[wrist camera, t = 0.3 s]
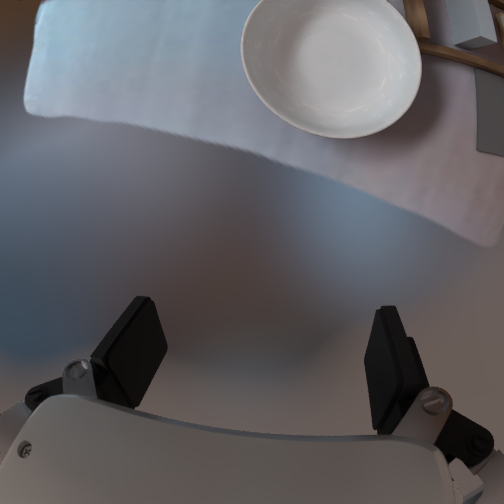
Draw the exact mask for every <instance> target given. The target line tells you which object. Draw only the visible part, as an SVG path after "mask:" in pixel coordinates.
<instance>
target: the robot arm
mask: <svg viewBox="0 0 504 504" xmlns="http://www.w3.org/2000/svg"><path fill="white" fill-rule="evenodd" d="M167 348H168V347H167V342H166V339H165V336H164V333H163V330H162V326H161V324H160V320H159V317H158V313H157V310H156V307H155V303H154V301H152V300H151V299H150V297H145V296H136V297H135V298H134V300H133V301H132V302H131V303H130V305H129V306H128V307H127V309H126V310H125V311H124V312H123V314H122V315H121V316H120V318H119V319H118V320H117V321H116V323H115V324H114V325H113V327H112V328H111V329H110V330H109V332H108V333H107V334H106V336H105V337H104V339H103V340H102V341H101V342H100V344H99V345H98V346H97V348H96V349H95V350H94V352H93V353H92V355H91V358H92V359H91V360H90V361H88V360H86V359H82V358H79V359H75V360H72V361H70V362H69V363H68V364H67V365H66V366H65V367H64V369H63V373H62V377H60V378H57V379H54V380H52V381H49V382H46V383H43V384H40V385H38V386H35V387H33V388H31V389H30V390H29V391H28V393H27V394H26V396H25V402H23V401H22V400H21V401H20V402H18V403H16V404H15V405H13V406H12V407H10V408H9V409H7V410H6V411H4V412H3V413H1V414H0V454H1V457H2V460H3V462H2V464H1V466H0V504H456V501H455V492H454V486H453V481H455V482H456V483H457V484H458V486H459V487H458V490H459V491H460V492H461V494H462V496H463V504H504V454H503V453H502V452H501V451H500V450H498V451H496V450H495V449H494V439H493V436H492V434H491V433H490V432H489V431H488V430H487V429H485V428H484V427H482V426H480V425H479V424H477V423H475V422H473V421H472V420H470V419H468V418H466V417H465V416H463V415H461V414H460V413H458V412H456V411H454V410H453V409H452V407H453V402H452V398H451V396H450V395H449V394H448V392H447V391H445V390H444V389H442V388H439V387H430V386H429V383H428V380H427V377H426V374H425V370H424V367H423V364H422V361H421V358H420V355H419V353H418V350H417V347H416V344H415V341H414V339H413V338H412V337H407V336H406V333H405V330H404V327H403V324H402V322H401V319H400V316H399V314H398V311H397V308H396V306H381V308H380V309H378V310H376V313H375V317H374V321H373V326H372V330H371V334H370V338H369V342H368V346H367V349H366V353H365V358H364V364H365V371H366V378H367V385H368V392H369V400H370V408H371V416H372V426H373V429H374V430H377V434H378V435H349V436H348V435H346V436H314V435H313V436H312V435H310V436H309V435H285V434H270V433H258V432H249V431H240V430H232V429H225V428H218V427H211V426H205V425H200V424H195V423H189V422H184V421H179V420H175V419H170V418H166V417H161V416H157V415H153V414H149V413H146V412H141V411H138V410H135V407H137V406H139V405H140V403H141V401H142V399H143V397H144V395H145V393H146V391H147V389H148V387H149V385H150V383H151V381H152V379H153V377H154V375H155V373H156V371H157V369H158V368H159V366H160V364H161V362H162V360H163V358H164V356H165V354H166V352H167Z"/></svg>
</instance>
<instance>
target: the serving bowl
mask: <svg viewBox="0 0 504 504" xmlns="http://www.w3.org/2000/svg"><path fill="white" fill-rule="evenodd" d="M241 59H242V64H243V68H244V71H245V73H246V76H247V78H248V81H249V83H250V85H251V86H252V88H253V90H254V91H255V93H256V94H257V95H258V97H259V98H260V99H261V101H262V102H263V103H264V104H265V105H266V106H267V107H268V108H269V109H270V110H271V111H272V112H273V113H275V114H276V115H277V116H278V117H280V118H281V119H283V120H284V121H286V122H287V123H289V124H291V125H293V126H294V127H296V128H299V129H301V130H303V131H306V132H308V133H311V134H315V135H318V136H323V137H328V138H336V139H351V138H359V137H364V136H368V135H372V134H375V133H377V132H380V131H382V130H384V129H386V128H387V127H389V126H391V125H392V124H393V123H395V122H396V121H397V120H399V119H400V118H401V117H402V116H403V115H404V114H405V113H406V111H407V110H408V109H409V108H410V106H411V105H412V103H413V101H414V99H415V97H416V95H417V93H418V90H419V87H420V82H421V75H422V62H421V55H420V50H419V46H418V43H417V41H416V38H415V36H414V34H413V32H412V30H411V28H410V26H409V25H408V23H407V22H406V20H405V19H404V18H403V16H402V15H401V14H400V13H399V12H398V11H397V10H396V9H395V8H394V7H393V6H392V5H391V4H390V3H389V2H388V1H386V0H261V1H260V2H259V3H258V4H257V5H256V6H255V7H254V9H253V10H252V12H251V13H250V15H249V16H248V18H247V20H246V23H245V25H244V28H243V32H242V37H241Z"/></svg>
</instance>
